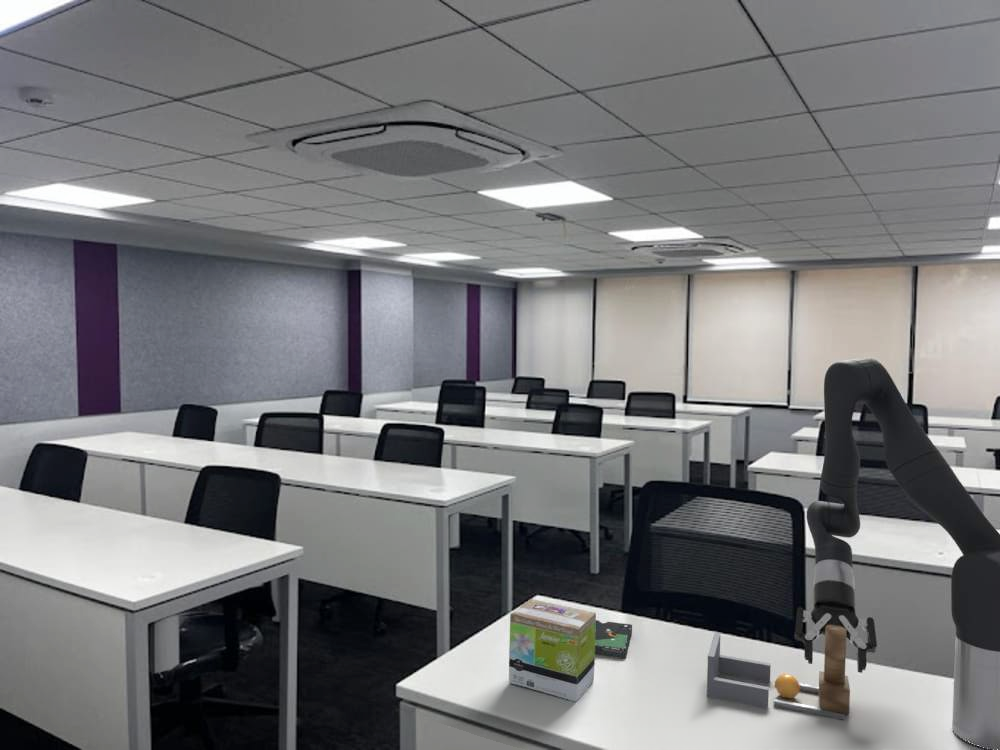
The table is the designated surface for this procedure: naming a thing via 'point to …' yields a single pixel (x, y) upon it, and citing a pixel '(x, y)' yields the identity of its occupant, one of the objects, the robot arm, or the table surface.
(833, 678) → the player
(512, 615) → the tea box
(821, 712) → the track
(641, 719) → the table surface
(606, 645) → the disk drive
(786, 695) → the ball
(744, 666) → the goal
